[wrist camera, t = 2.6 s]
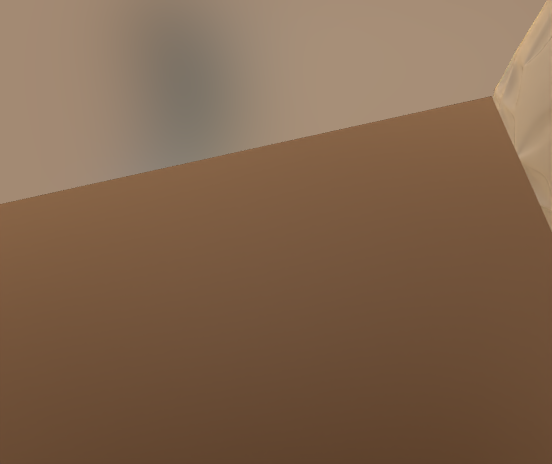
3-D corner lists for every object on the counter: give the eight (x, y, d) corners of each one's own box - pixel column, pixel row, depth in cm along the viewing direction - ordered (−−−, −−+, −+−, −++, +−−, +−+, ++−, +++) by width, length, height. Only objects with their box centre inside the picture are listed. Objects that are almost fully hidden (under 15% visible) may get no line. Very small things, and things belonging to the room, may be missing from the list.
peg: (357, 455, 14) (794, 777, 2) (234, 488, 14) (-33, 1060, 2) (324, 331, 15) (491, 97, 3) (209, 359, 15) (-61, 217, 3)
